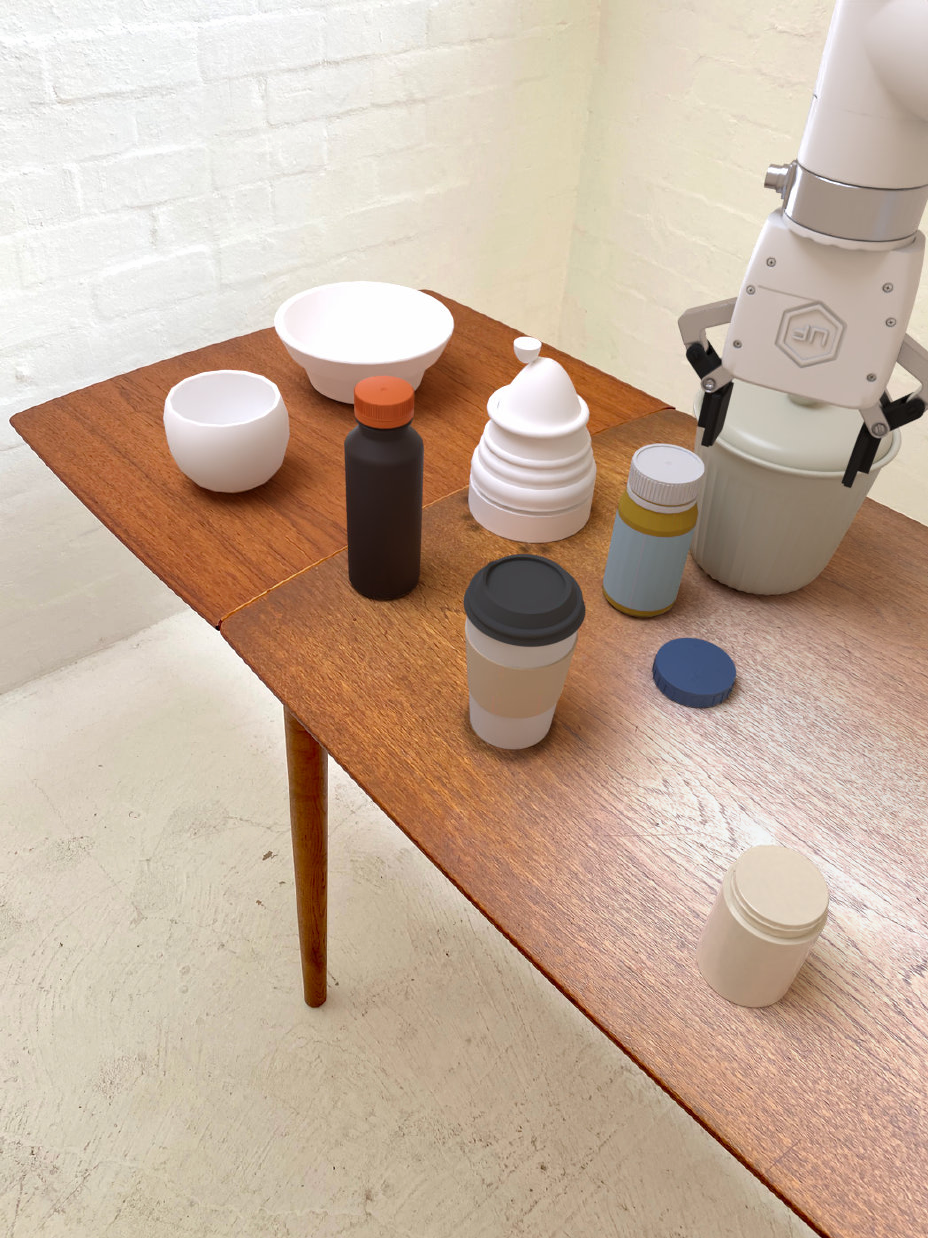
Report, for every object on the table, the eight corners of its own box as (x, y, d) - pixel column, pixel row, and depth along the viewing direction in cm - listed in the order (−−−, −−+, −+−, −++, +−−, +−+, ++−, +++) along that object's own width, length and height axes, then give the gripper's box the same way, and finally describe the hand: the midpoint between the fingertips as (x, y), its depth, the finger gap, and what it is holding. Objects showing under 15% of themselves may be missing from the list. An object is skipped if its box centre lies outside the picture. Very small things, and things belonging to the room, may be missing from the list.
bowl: (350, 447, 109) (348, 381, 104) (245, 373, 120) (238, 309, 115) (486, 389, 120) (491, 327, 115) (379, 326, 131) (378, 266, 126)
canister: (826, 645, 89) (909, 448, 75) (637, 584, 94) (680, 388, 80) (855, 538, 102) (931, 351, 87) (686, 489, 107) (732, 305, 92)
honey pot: (452, 526, 100) (461, 365, 87) (487, 460, 109) (500, 306, 97) (575, 554, 97) (602, 392, 85) (601, 485, 106) (628, 330, 94)
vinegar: (388, 611, 90) (388, 420, 76) (333, 580, 92) (324, 390, 79) (434, 575, 94) (442, 388, 80) (380, 546, 97) (379, 361, 83)
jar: (801, 944, 67) (844, 865, 61) (779, 1025, 63) (824, 949, 56) (710, 904, 69) (743, 823, 62) (683, 980, 65) (716, 902, 58)
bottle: (594, 610, 91) (620, 476, 81) (608, 566, 96) (634, 434, 86) (669, 628, 90) (705, 494, 80) (679, 582, 95) (714, 450, 85)
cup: (312, 492, 103) (307, 410, 96) (199, 525, 97) (186, 442, 91) (264, 435, 110) (256, 356, 104) (157, 464, 105) (142, 383, 98)
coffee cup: (574, 691, 83) (599, 554, 73) (552, 772, 77) (577, 632, 67) (472, 667, 85) (483, 529, 75) (442, 744, 78) (450, 604, 68)
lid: (671, 640, 89) (675, 626, 88) (744, 672, 86) (748, 658, 85) (638, 685, 84) (641, 671, 83) (713, 721, 82) (718, 707, 81)
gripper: (689, 190, 56) (642, 447, 68) (1009, 255, 51) (899, 523, 62) (726, 157, 61) (676, 401, 73) (1021, 212, 56) (917, 467, 67)
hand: (779, 457), depth 67 cm, fingers open, 9 cm apart
